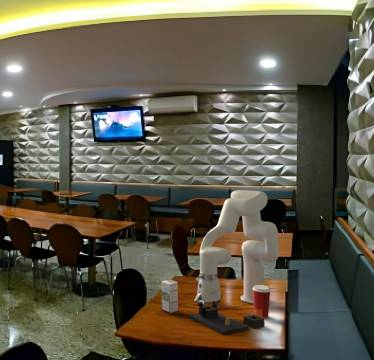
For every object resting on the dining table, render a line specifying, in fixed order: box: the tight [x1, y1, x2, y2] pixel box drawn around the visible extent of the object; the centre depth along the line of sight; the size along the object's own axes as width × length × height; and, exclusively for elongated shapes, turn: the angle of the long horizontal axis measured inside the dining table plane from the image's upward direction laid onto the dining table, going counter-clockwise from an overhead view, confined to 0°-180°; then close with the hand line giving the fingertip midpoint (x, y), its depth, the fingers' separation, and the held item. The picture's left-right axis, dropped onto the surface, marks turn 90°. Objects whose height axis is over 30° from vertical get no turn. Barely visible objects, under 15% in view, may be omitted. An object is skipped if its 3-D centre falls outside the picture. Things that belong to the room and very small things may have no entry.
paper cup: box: [253, 285, 272, 319], centre depth 209 cm, size 8×8×14 cm
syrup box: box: [161, 279, 179, 314], centre depth 219 cm, size 6×6×14 cm
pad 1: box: [198, 305, 219, 318], centre depth 206 cm, size 6×6×4 cm
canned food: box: [195, 276, 200, 302], centre depth 235 cm, size 8×8×11 cm
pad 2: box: [243, 314, 265, 329], centre depth 198 cm, size 6×6×4 cm
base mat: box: [188, 312, 250, 336], centre depth 201 cm, size 14×22×4 cm, turn 21°
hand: (208, 314), depth 206 cm, fingers closed on pad 1, 6 cm apart
